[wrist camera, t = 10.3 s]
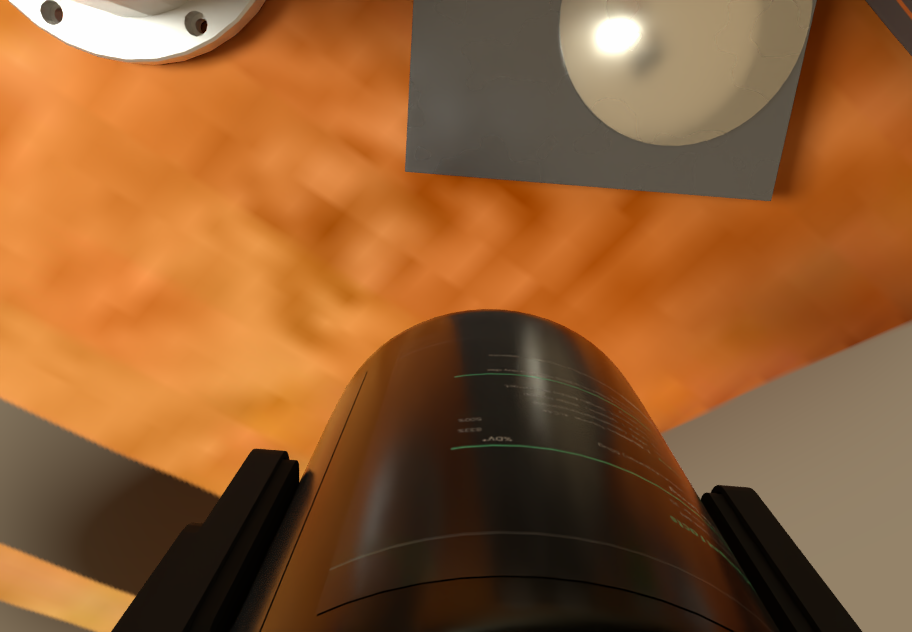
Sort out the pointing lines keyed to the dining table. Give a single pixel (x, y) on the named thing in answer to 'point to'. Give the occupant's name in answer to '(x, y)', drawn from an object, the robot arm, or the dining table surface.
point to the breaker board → (607, 92)
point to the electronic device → (896, 18)
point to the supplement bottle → (496, 500)
